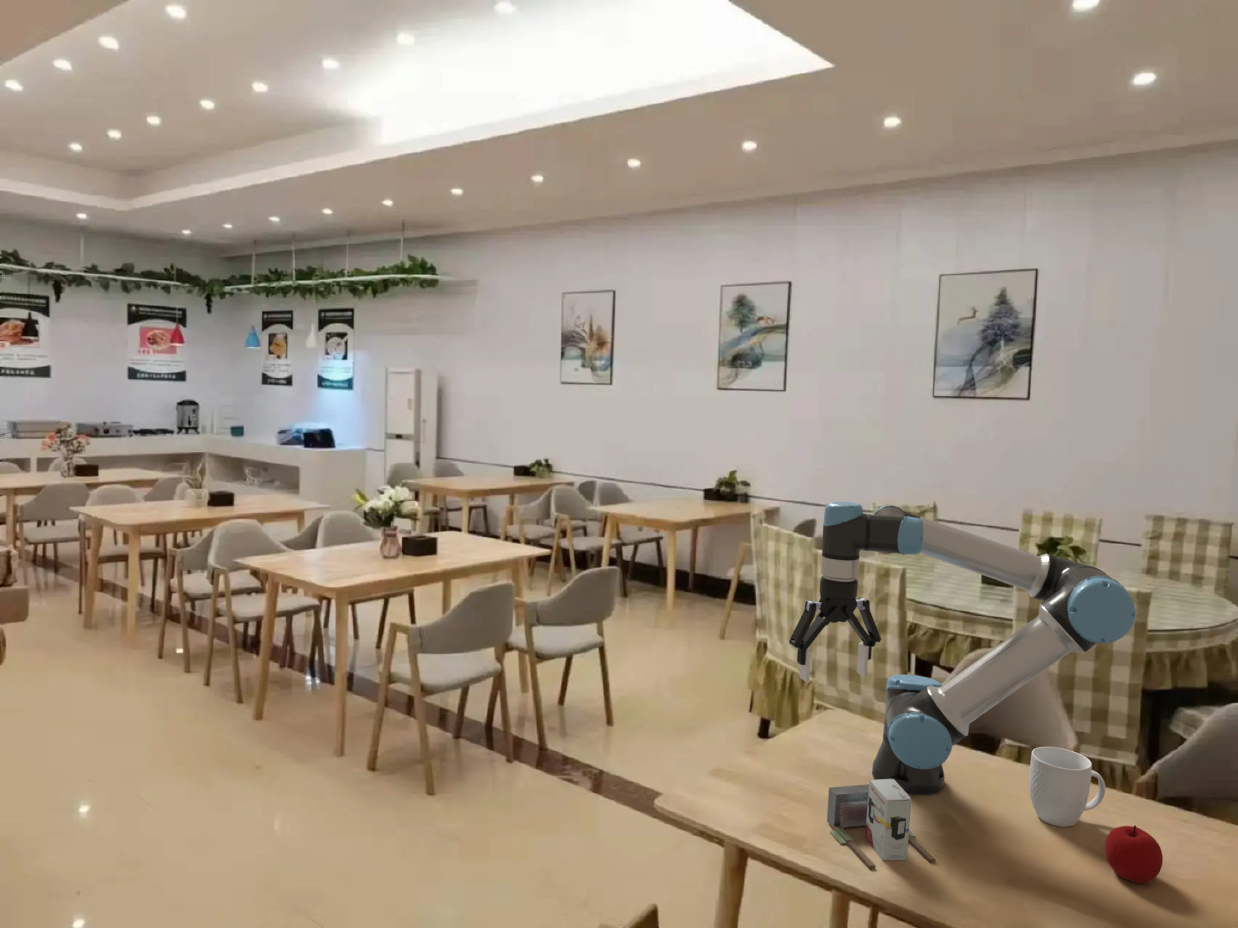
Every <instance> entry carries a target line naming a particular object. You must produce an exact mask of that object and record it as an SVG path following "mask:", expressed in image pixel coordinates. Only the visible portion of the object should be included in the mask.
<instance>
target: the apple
mask: <svg viewBox="0 0 1238 928" xmlns="http://www.w3.org/2000/svg"><path fill="white" fill-rule="evenodd" d="M1162 851H1163V850H1162V849H1161V846H1160V844H1159V843H1158V842H1157V840H1156V839H1155V838H1154V836H1152V835H1151V834H1150V833H1148V832H1146V830H1144V829H1142V828H1139V827H1137V825H1122V826H1118V827H1114V828H1112V830H1110V831H1109V833H1108V834H1107V836H1106V839H1105V841H1104V854H1105V858H1106V860H1107V862H1108V865H1109V867H1111V869H1112V870H1113V871H1114V872H1115V873H1116V874H1117V875H1118V876H1119V877H1121V878H1123V879H1124V880H1128V881H1130V882H1132V881H1133V883H1135V884H1146V883H1149V882H1152V881H1153V880H1155V879H1156V878H1157V876H1158V875H1159V874H1160V872H1161V869H1162V867H1163V861H1164V860H1163V858H1164V857H1163V856H1164V855H1163V852H1162Z"/></svg>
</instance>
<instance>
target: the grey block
mask: <svg viewBox="0 0 1238 928" xmlns="http://www.w3.org/2000/svg"><path fill="white" fill-rule="evenodd" d="M868 796H869V784H867V783H866V784H857V785H856V784H855V785H845V786H832V787H828V798H827V799H828V800H827V814H826V822H827V823H828V825H830V826H831V828H833V826H840V827H842V828H843V829H846V828H847V829H848V828H859V827H866V819H867V808H868Z"/></svg>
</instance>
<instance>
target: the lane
mask: <svg viewBox="0 0 1238 928" xmlns="http://www.w3.org/2000/svg"><path fill="white" fill-rule="evenodd" d="M829 833H830V835H832V837H833V838H835V840H836V841H837V842H838V844H840V845H847V847H848V848H849V849H851V851H852V852H853V853H854V854H855V855H856V856H857V857H858V858H859V860H860V861H861V862H862V863H863V864H864V865H865V866H866V867H867V868H868V870H873V869H876V867H877V866H876V864H875V863H874V862H873V861H872V860H871V859H870V857H869V856H867V854H866V853H865V852H864V851H863V850H862V848H860V847H859V846H858V844H857V843H856V842H854V840H853V838H852V837H851V836H850V835H849V833H847V832H846V830H845V829H844V828H842V827H840V826H833V827H832V830H829ZM915 838H916V834H914V833H913V831H911V830H910V829H909V839H908V844H910V846H912V848H914V849H915V851H916V852H918V853H919V854H920V855H921V856H922V857H923V858H924V859H925V860H926V861H927V862H928V863H929V864H932V863H933V864H934V863H936V862H937V861H936V860H937V859H936V858H935V857H934V856H933V855H932V854H931V853H930V852H929V851H928V850H927V849H926V848H924V846H923V845H922V844H921V843H920V842H918V841H917V840H916V839H915Z"/></svg>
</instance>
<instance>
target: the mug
mask: <svg viewBox="0 0 1238 928" xmlns="http://www.w3.org/2000/svg"><path fill="white" fill-rule="evenodd" d="M1029 763H1030V764H1029V765H1030V766H1029V777H1028V783H1029V785H1028V787H1029V788H1028V789H1029V794H1030V795H1029V796H1030V800H1031V804H1032V806H1033V809H1034V811H1035V814H1036V815H1037V816H1038V818H1040V820H1041V821H1043V822H1045V823H1046V824H1049V825H1052V826H1055V827H1061V828H1067V827H1072V826H1074V825H1075V824H1076V823H1077V822H1078V821H1079V819H1080V818H1081V816H1082V815H1083V813H1084V811H1085V812H1086V811H1090V810H1093V809H1095V808H1096V807H1098V806H1099V805H1100V804H1101V803H1102V801H1103V800H1104V798H1105V794H1106V782H1105V780H1104V778H1103V777H1102V775H1101V774H1100V773H1098V772H1097V771H1095V770H1093V769H1092V768H1093V767H1092V766H1093V764H1092V761H1091V760H1090V759H1089V758H1087V757H1086V756H1084V755H1083V754H1081V753H1079V752H1075V751H1073V750H1070V749H1066V748H1062V747H1056V746H1040V747H1036V748H1033V750H1032V751H1031V757H1030V762H1029ZM1092 777H1095V778H1096V779H1097V781H1098V789H1097V793H1096V795H1095V797H1094V798H1093V799H1092V800H1090V801H1089V802H1088V799H1089V794H1090V790H1091V789H1090V788H1091V781H1092Z"/></svg>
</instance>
